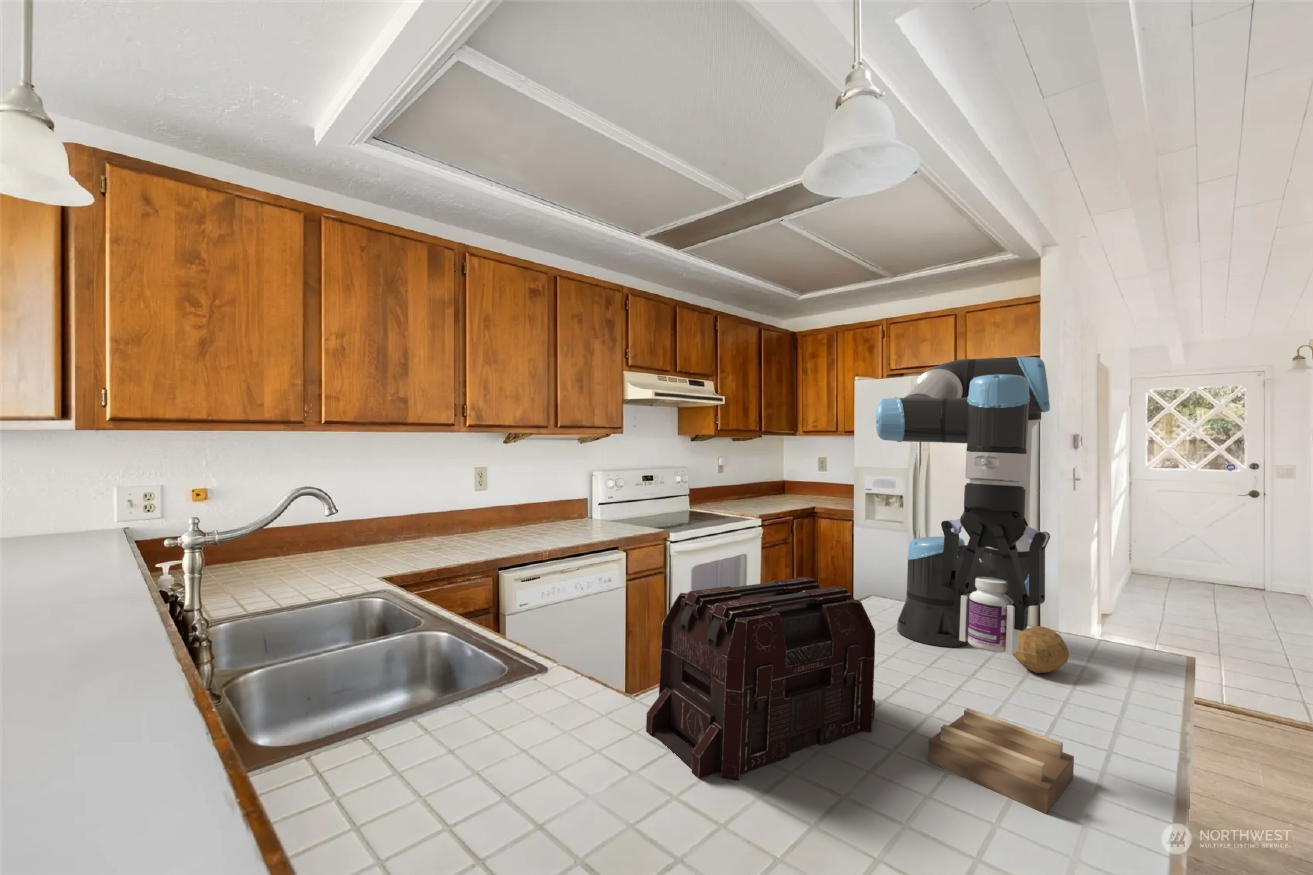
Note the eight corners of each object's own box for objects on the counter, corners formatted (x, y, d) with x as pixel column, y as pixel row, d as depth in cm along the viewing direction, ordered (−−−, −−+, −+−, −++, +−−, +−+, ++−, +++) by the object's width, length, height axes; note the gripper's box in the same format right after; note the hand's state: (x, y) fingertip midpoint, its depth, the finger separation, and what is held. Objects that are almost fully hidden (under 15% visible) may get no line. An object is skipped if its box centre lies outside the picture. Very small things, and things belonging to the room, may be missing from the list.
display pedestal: (928, 761, 78) (929, 726, 78) (962, 734, 86) (963, 703, 86) (1046, 814, 68) (1048, 774, 68) (1073, 778, 76) (1074, 742, 76)
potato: (997, 670, 113) (999, 630, 113) (1020, 655, 122) (1021, 618, 122) (1055, 687, 105) (1057, 645, 106) (1075, 670, 115) (1076, 631, 115)
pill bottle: (1010, 656, 77) (1013, 586, 77) (966, 647, 80) (968, 579, 80) (1010, 646, 81) (1013, 579, 81) (968, 637, 84) (971, 573, 84)
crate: (711, 791, 69) (719, 623, 70) (636, 723, 85) (642, 586, 86) (889, 727, 88) (895, 593, 88) (800, 680, 104) (805, 568, 104)
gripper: (918, 478, 85) (912, 631, 85) (1063, 488, 71) (1056, 672, 71) (940, 478, 90) (934, 623, 90) (1079, 488, 76) (1073, 660, 76)
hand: (988, 645), depth 80 cm, fingers closed on pill bottle, 5 cm apart
